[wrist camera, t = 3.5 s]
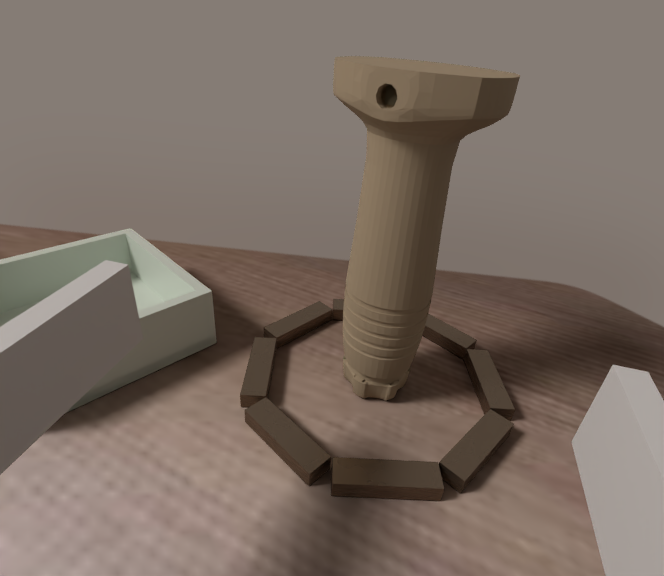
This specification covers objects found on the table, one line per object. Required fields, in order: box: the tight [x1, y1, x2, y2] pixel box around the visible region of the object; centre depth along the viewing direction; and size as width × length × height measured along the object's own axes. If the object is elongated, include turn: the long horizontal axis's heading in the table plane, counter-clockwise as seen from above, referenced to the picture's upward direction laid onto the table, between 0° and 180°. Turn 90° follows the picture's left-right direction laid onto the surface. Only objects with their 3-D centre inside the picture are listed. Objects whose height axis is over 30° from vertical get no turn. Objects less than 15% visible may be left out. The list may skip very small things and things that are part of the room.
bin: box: [0, 228, 217, 413], centre depth 24 cm, size 10×10×4 cm
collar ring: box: [240, 299, 515, 501], centre depth 23 cm, size 13×13×1 cm
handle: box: [333, 56, 520, 401], centre depth 19 cm, size 5×6×15 cm
